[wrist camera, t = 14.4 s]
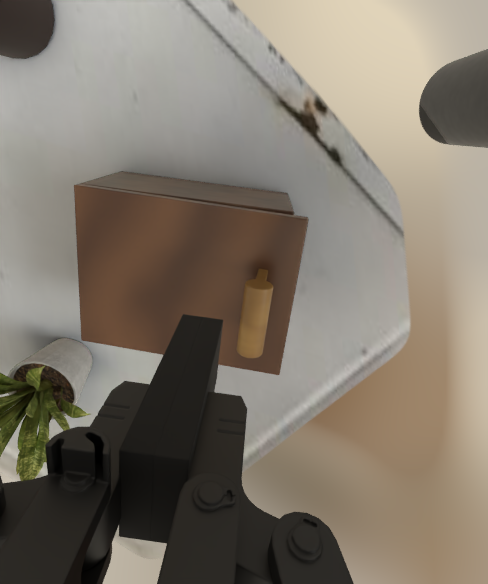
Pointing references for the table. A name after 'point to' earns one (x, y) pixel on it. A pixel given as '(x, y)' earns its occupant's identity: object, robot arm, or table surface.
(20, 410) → the house plant
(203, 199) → the chest
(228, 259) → the lid
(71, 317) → the table surface
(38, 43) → the bottle
